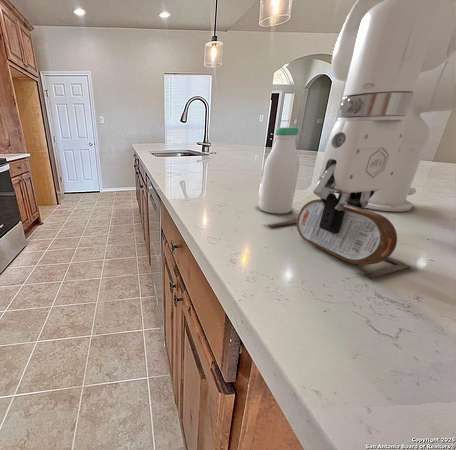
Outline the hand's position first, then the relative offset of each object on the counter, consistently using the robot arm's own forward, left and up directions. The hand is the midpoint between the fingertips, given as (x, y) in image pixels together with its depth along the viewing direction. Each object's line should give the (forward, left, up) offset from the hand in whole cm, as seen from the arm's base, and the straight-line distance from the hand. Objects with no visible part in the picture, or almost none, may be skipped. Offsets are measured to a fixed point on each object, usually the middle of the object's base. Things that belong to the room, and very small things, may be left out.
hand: (337, 228), depth 41 cm
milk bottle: (-6, -21, -5) cm, 23 cm away
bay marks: (-1, -2, -4) cm, 5 cm away
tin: (+2, 0, -4) cm, 4 cm away
